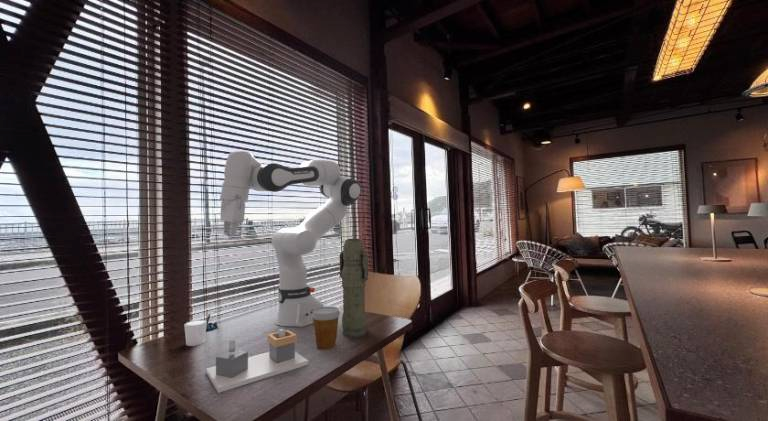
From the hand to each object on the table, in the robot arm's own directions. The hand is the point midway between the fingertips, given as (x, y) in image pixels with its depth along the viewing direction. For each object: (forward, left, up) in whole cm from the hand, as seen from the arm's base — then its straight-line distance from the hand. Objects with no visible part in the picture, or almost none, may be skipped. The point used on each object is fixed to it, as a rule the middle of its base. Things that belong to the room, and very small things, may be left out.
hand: (229, 234), depth 115 cm
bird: (+2, -22, -38) cm, 44 cm away
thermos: (-38, +21, -38) cm, 58 cm away
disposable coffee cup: (-24, +25, -38) cm, 51 cm away
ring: (-8, +27, -32) cm, 42 cm away
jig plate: (-1, +27, -38) cm, 46 cm away
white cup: (+9, -8, -38) cm, 40 cm away
